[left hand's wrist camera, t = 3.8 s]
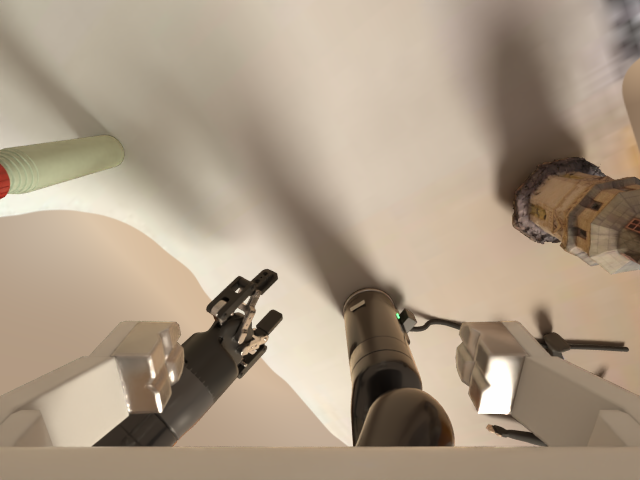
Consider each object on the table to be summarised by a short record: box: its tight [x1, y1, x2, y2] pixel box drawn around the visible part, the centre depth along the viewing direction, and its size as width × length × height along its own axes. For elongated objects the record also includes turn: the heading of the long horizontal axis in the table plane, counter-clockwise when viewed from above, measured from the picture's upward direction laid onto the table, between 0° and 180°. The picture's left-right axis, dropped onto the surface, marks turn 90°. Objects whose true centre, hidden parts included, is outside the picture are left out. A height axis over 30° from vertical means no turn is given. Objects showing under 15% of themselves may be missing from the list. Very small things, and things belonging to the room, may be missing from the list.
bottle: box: [0, 135, 124, 194], centre depth 45 cm, size 5×5×23 cm
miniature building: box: [512, 157, 640, 274], centre depth 44 cm, size 13×14×30 cm
